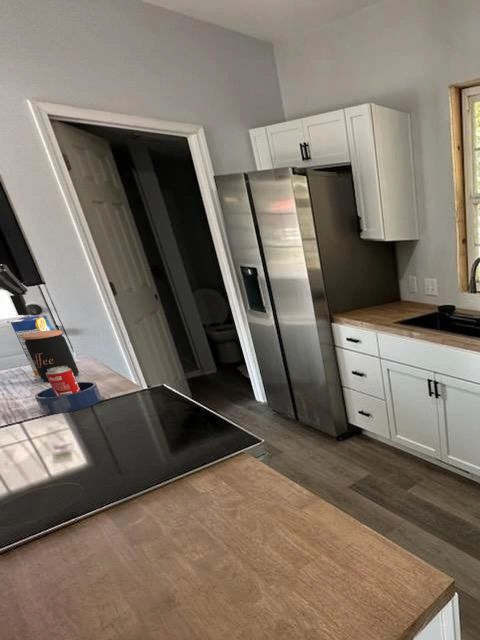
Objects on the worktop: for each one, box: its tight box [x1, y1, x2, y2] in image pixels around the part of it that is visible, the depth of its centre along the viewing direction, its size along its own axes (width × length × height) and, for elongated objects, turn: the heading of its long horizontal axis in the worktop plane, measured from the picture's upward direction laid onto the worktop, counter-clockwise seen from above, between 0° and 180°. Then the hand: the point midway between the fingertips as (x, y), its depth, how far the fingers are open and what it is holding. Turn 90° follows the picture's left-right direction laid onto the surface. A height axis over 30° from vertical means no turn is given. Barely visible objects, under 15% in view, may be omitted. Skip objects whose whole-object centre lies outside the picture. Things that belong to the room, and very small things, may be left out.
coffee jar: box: [22, 329, 80, 383], centre depth 160 cm, size 11×11×18 cm
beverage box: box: [10, 314, 53, 377], centre depth 167 cm, size 7×11×22 cm, turn 32°
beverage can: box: [46, 366, 80, 397], centre depth 136 cm, size 6×6×12 cm
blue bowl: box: [34, 381, 103, 415], centre depth 137 cm, size 14×14×6 cm
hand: (4, 319), depth 132 cm, fingers open, 13 cm apart
